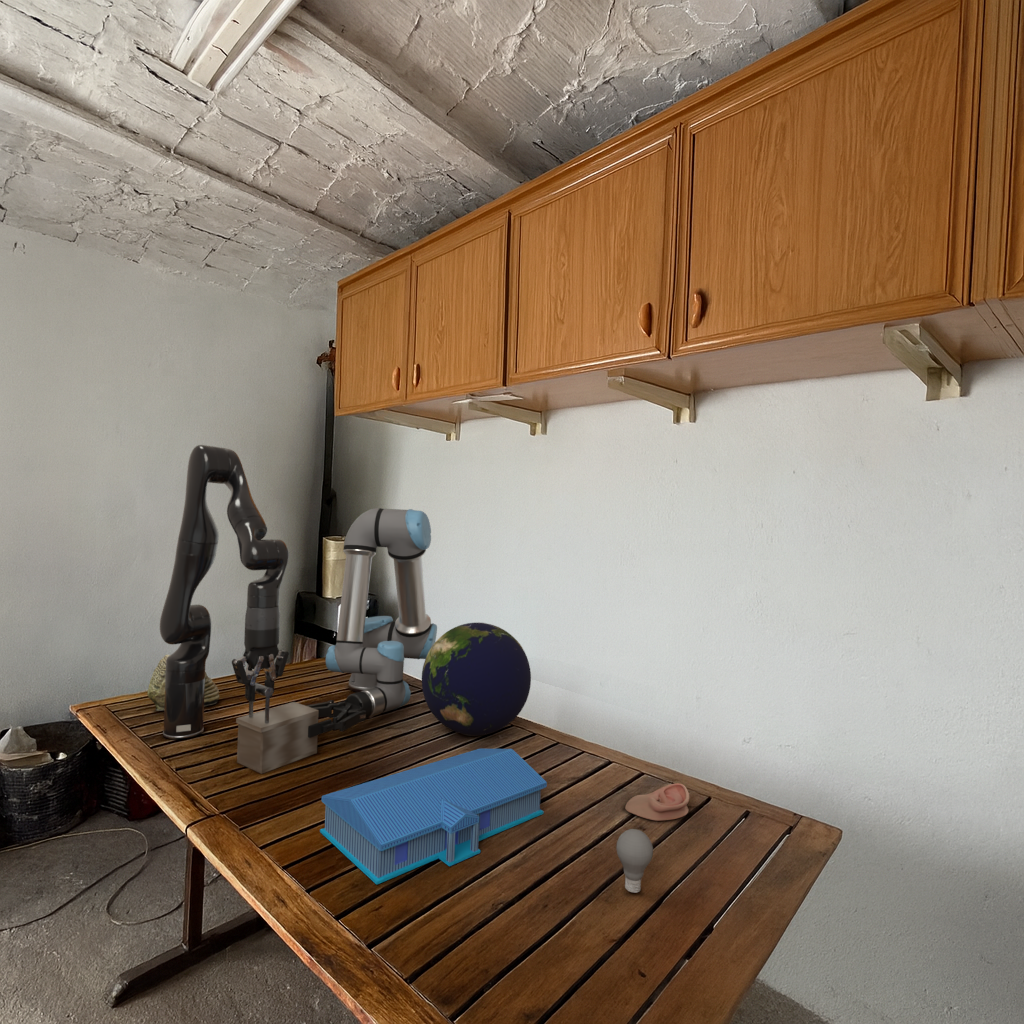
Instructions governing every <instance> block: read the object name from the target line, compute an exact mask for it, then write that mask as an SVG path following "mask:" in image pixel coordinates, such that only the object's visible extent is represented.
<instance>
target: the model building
mask: <svg viewBox="0 0 1024 1024" xmlns="http://www.w3.org/2000/svg"><path fill="white" fill-rule="evenodd" d="M547 786H548V781H546V780H545V779H544V778H543V777H542V776H541V775H540V774H539V773H538V772H537V771H536V770H535V769H534V768H533V767H532V766H531V765H529V763H528V762H527V761H526V760H524V758H523V757H521V755H520V754H519V753H518V752H516V751H515V750H514V749H513V748H482V747H481V748H480V747H479V748H477V749H474V750H471V751H467V752H464V753H460V754H457V755H454V756H449V757H447V758H444V759H440V760H437V761H434V762H430V763H427V764H423V765H420V766H416V767H413V768H410V769H407V770H403V771H400V772H397V773H393V774H390V775H387V776H384V777H379V778H377V779H374V780H370V781H366V782H363V783H360V784H356V785H354V786H350V787H347V788H344V789H339V790H337V791H333V792H330V793H327V794H323V795H321V802H322V803H323V804H324V805H325V810H324V811H325V813H324V828H321V829H319V833H320V834H321V835H322V836H323V837H324V838H326V839H327V840H328V842H330V843H331V844H332V845H333V846H334V847H336V848H337V850H338V851H340V852H341V853H342V854H343V855H344V856H345V857H346V858H347V859H348V860H349V861H351V863H352V864H354V865H355V866H356V867H357V868H358V869H359V870H360V871H361V872H362V873H363V874H364V875H365V876H367V877H368V878H369V879H370V880H371V881H372V882H373V883H374V884H375V885H381V884H382V883H384V882H387V881H389V880H391V879H394V878H397V877H398V876H401V875H404V874H405V873H408V872H410V871H412V870H415V869H417V868H419V867H422V866H424V865H427V864H429V863H431V862H434V861H436V860H440V861H441V862H442V863H444V864H445V865H447V866H448V867H452V866H455V865H456V864H458V863H461V862H463V861H465V860H467V859H470V858H473V857H474V856H477V855H479V854H481V849H480V848H479V842H481V841H483V840H486V839H487V838H490V837H492V836H495V835H497V834H499V833H502V832H504V831H506V830H509V829H511V828H513V827H516V826H518V825H520V824H523V823H525V822H527V821H530V820H532V819H534V818H537V817H539V816H542V815H544V813H545V811H544V810H542V809H541V792H542V791H541V790H544V789H546V788H547Z"/></svg>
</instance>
